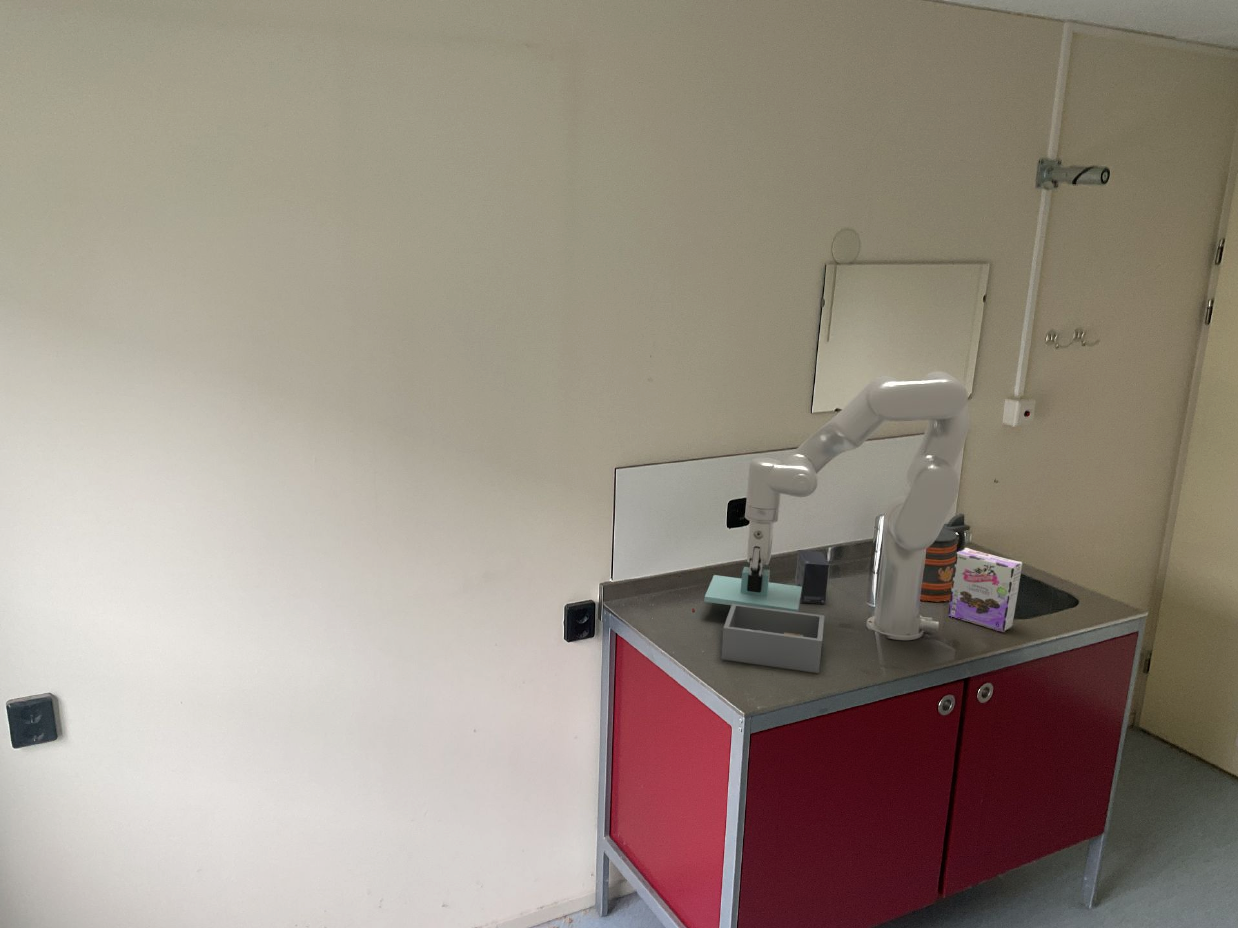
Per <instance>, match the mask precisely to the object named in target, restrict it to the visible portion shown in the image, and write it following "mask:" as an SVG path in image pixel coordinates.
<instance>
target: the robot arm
mask: <svg viewBox="0 0 1238 928" xmlns="http://www.w3.org/2000/svg"><path fill="white" fill-rule="evenodd" d="M968 399H969V398H968V391H967V389H966V387H965V385H964V384H963V383H962V381H960V380H958V379H957V378H955V377H954V376H952V375H951V374H949V373H947V372H945V371H940V370H939V371H938V370H936V371H931V372H929V373H927V374H926V375H924V376H923V377H922V379H921V380H912V381H911V380H910V381H909V380H908V381H907V380H905V381H900V380H898V379H897V378H895V377H893V376H889V375H881V376H878V377H875V378H874V379H873V380H871V381H870V382H869V383H868V384H867V385H866V386H865V387H864V388H863V389H862V390H861V391H860V392H859V393H857V395H855V396H854V397H853V399H851V400H850V401H849V402H848V403H847V405H846V406H844V407H843V408H842V409H841V410H840V411H839V412H838V413H837V414H836V415H835V416H834V417H833V418H831V420H830V421H829V420H828V422H827V423H825V424H824V425H823V426H822V427H820V428H819V429H818V430H816V431H815V432H814V433H813V434H811V435H810V436H809V437H808V438H807V439H805V440H804V441H803V442H802V443H801V445H799V446H798V447H797V448H796V449H795V450H794V451H793V452H792V453H791V454H790V455H789V456H788V457H787V458H786V459H785V461H784V463H783V464H782V462H781V461H780V460H778V459H775V458H771V457H757V458H753V459H752V460H751V461H750V463H749V467H748V468H749V469H748V478H747V491H746V503H745V513H744V518H745V519H746V520H747V521H749V525H748V538H747V555H746V561H747V562H748V563H749V564H750V565H749V567H750V570H749V574H748V584H747V591H751V592H758V593H760V592H761V587H762V576H761V574H762V569H765V566H768V565H769V563H770V560H771V558H772V557H771V556H772V547H773V537H774V536H773V535H774V523H776V522H778V521H779V513H780V503H781V494H782V495H786V496H789V497H794V498H807V497H809V496H812V494H814V492H815V491H816V490H817V488H818V484H819V483H818V482H819V481H818V480H819V479H818V475H817V474H818V473H819V472H820V471H821V470H822V469H823V468H824V467H825V466H826V465H827V464H829V463H830V462H831V461H832V460H833V459H836V457H838V456H839V455H841V454H844V453H846V452H850V451H854V450H856V449H857V448H860V447H861V446H862V445H863V444H864V443H865V442H866V441H867V440H868V439H869V438H870V437H871V436H873V434H874V433H875V432H876V431H878V430H879V428H881V427H882V426H883V425H884V424H885V423H886V422H914V421H927V425H926V429H925V432H924V435H923V437H922V438H921V441H920V444H919V446H918V447H917V450H916V453H914V456H913V458H912V460H911V461H910V462H911V463H910V464H909V466H908V468H907V471H906V480H907V483H908V485H909V488H910V489H909V492H908V494H907V495H899V496H897V497H895V498H894V499H892V500H891V501H890V502H889V503H888V505H887V506H886V508H885V510H884V514H883V520H882V521H883V522H882V523H883V524H882V528H883V529H882V546H881V547H882V549H881V555H880V556H881V558H880V565H879V566H880V567H879V573H878V583H877V593H876V599H875V600H876V601H875V608H874V615H873V616H871V617H869V618H868V619H867V620H866V628H867V629H868V630H872V631H875V632H877V633H880V634H882V635H886V638H887V639H891V640H896V641H912V640H913V641H914V640H917V639H920V638H921V637H922V636H923V635H924V629H925V628H926V629H929V630H939V627H940V622H939V620H933V617H929V616H927V617H926V616H923V615H921V613H920V602H921V600H920V596H921V588H922V580H923V572H924V566H925V557H926V548H928V547H929V546H931V545H932V544H933V543H934V541H935V540H936V538H937V537H938V535H939V533H940V531H941V529H942V527H943V525H944V524H946V521H947V518H949V517H948V516H949V514H951V513H950V512H951V510H952V508H953V507H954V504H955V502H956V499H957V497H958V493H959V489H960V479H959V477H958V474H957V472H956V470H955V467H956V464H957V461H958V459H959V456H960V455H961V452H962V449H963V448H964V445H965V442H966V439H967V436H968V433H969V428H970V411H969V405H968V401H969V400H968Z"/></svg>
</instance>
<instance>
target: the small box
mask: <svg viewBox="0 0 1238 928" xmlns="http://www.w3.org/2000/svg"><path fill="white" fill-rule="evenodd" d="M829 571H830V563H829V562H828V560H827V558H826V557H825V555H824V553H823V552H822V551H818V550H817V551H816V550H807V549H806V550H803V549H798V550H797V560H796V570H795V576H794V577H795V579H794V585H793V586H800V587H802V590H801V596H800V602H799V604H800V603H801V604H816V605H826V597H827V590H828V579H829Z"/></svg>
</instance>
